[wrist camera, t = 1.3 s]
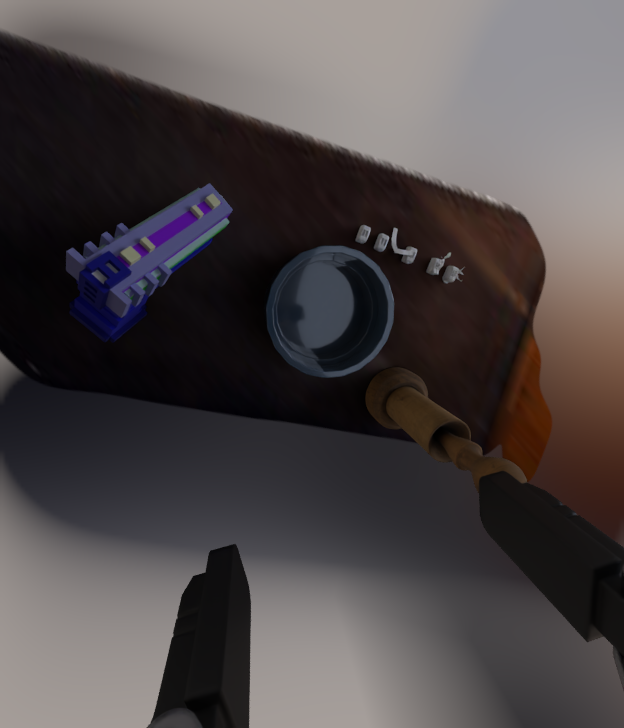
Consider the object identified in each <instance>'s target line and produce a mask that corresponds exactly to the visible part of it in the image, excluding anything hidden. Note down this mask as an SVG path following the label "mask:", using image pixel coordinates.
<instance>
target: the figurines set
mask: <svg viewBox="0 0 624 728" xmlns="http://www.w3.org/2000/svg"><path fill="white" fill-rule="evenodd" d="M370 230H371V228H370V227H368V226H365V225H361V226H360V229H359V231H358V234H357V237H356V240H355V241H356V242H359V243H361V244H363V243H365V242H366V241H367V239H368V236H369V233H370ZM397 231H398V229H396V228H394V230H393V234H392V238H391V240H392V247H393V249H394V253H399V254H403V257H402V260H401V261H402V262H404V263H406V264H411V263H412V262H413V260H414V258H415V256H416V253H417V249H415V248H413V247H407V248H406V250H402V249H398V248H397V246H395V245H396V235H397ZM388 240H389V236H387V235H385V234H383V233H382V234H379V235H378V238H377V240H376V243H375V245H374V249H375V250H377V251H379V252H381V251H384V249H385V248H386V245H387V243H388ZM450 256H451V252H450V253H448V254H447V256H445V257H444V259H446V258H448V257H450ZM444 259H442V260H441V259H438V258H432V259H431V261H430V263H429V266H428V268H427V271H426V272H427V273H429V274H431V275H436V274H437V275H438V274H439V270H440V269H441V267H442V266H443V264H444V261H445V260H444ZM461 270H462V269H461ZM459 273H460V274H463V273H462V272H461V271H460V270H459V269H458V268H456V267H454V266H447V268H446V270H445V273H444V275H443V277H442V280H443V282H445V283H448V282H453V281H454V280H455V279H456V278H457V280H458V275H457V274H459ZM463 275H464V274H463ZM456 276H457V277H456ZM459 280H460V279H459ZM460 281H462V280H460Z"/></svg>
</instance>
